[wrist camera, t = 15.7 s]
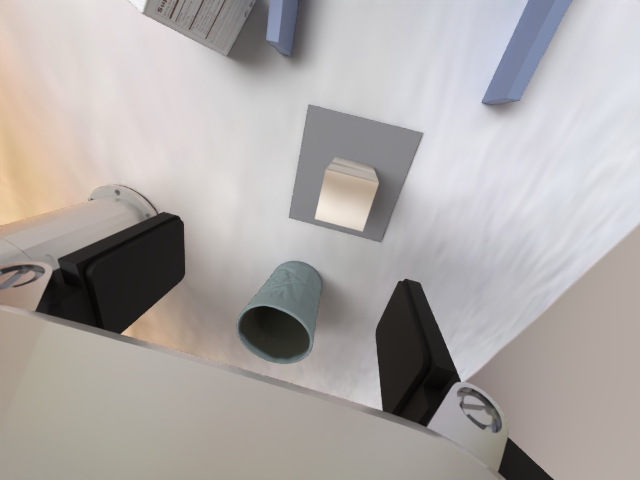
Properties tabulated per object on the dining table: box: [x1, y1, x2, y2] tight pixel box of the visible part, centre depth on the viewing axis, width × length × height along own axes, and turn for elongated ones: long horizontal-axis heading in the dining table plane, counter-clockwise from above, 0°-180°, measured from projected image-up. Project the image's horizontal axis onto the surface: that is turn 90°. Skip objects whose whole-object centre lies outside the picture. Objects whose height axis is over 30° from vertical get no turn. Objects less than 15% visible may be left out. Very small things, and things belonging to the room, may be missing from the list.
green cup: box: [236, 261, 322, 364], centre depth 36 cm, size 10×10×12 cm
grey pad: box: [289, 105, 422, 242], centre depth 32 cm, size 15×14×1 cm
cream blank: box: [315, 157, 379, 232], centre depth 27 cm, size 5×5×10 cm
